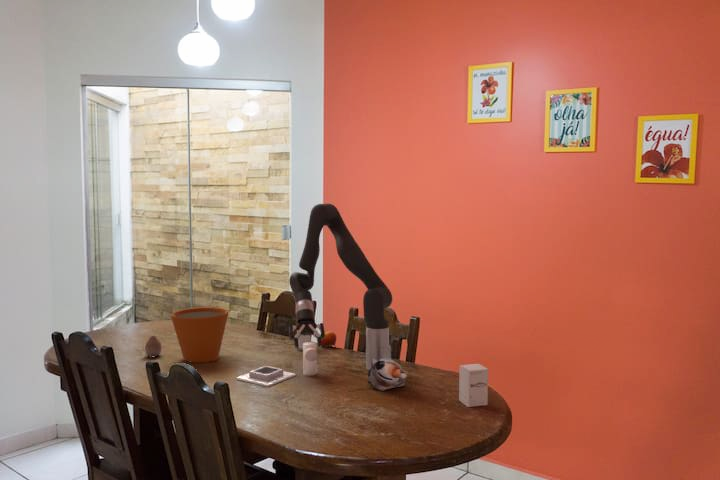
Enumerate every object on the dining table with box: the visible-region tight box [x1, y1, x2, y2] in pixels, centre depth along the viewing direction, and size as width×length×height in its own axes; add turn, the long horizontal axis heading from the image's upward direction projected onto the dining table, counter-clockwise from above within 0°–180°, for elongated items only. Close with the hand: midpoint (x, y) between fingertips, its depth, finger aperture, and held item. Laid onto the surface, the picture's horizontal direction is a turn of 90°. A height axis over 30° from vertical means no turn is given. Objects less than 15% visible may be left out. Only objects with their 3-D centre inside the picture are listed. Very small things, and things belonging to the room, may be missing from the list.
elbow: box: [302, 341, 319, 377], centre depth 237 cm, size 9×5×12 cm, turn 12°
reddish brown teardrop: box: [144, 335, 163, 358], centre depth 265 cm, size 7×7×9 cm
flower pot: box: [170, 306, 229, 363], centre depth 261 cm, size 24×24×20 cm
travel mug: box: [296, 329, 312, 352], centre depth 276 cm, size 6×7×20 cm
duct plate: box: [236, 365, 297, 388], centre depth 234 cm, size 16×16×3 cm
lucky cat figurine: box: [367, 358, 408, 392], centre depth 222 cm, size 15×12×14 cm
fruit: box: [321, 330, 337, 348], centre depth 281 cm, size 8×8×8 cm
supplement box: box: [458, 363, 489, 408], centre depth 206 cm, size 7×7×13 cm
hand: (308, 347), depth 242 cm, fingers open, 8 cm apart
